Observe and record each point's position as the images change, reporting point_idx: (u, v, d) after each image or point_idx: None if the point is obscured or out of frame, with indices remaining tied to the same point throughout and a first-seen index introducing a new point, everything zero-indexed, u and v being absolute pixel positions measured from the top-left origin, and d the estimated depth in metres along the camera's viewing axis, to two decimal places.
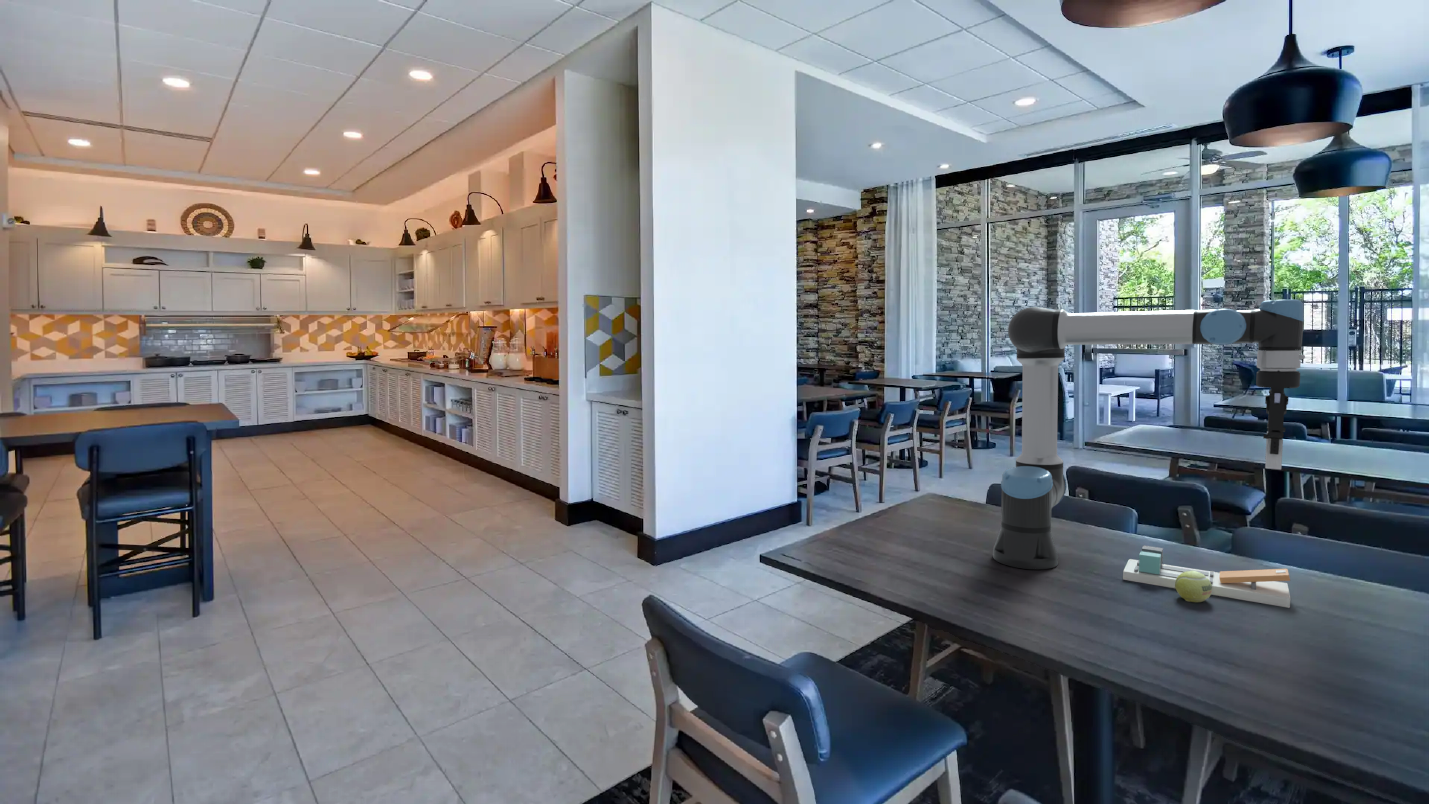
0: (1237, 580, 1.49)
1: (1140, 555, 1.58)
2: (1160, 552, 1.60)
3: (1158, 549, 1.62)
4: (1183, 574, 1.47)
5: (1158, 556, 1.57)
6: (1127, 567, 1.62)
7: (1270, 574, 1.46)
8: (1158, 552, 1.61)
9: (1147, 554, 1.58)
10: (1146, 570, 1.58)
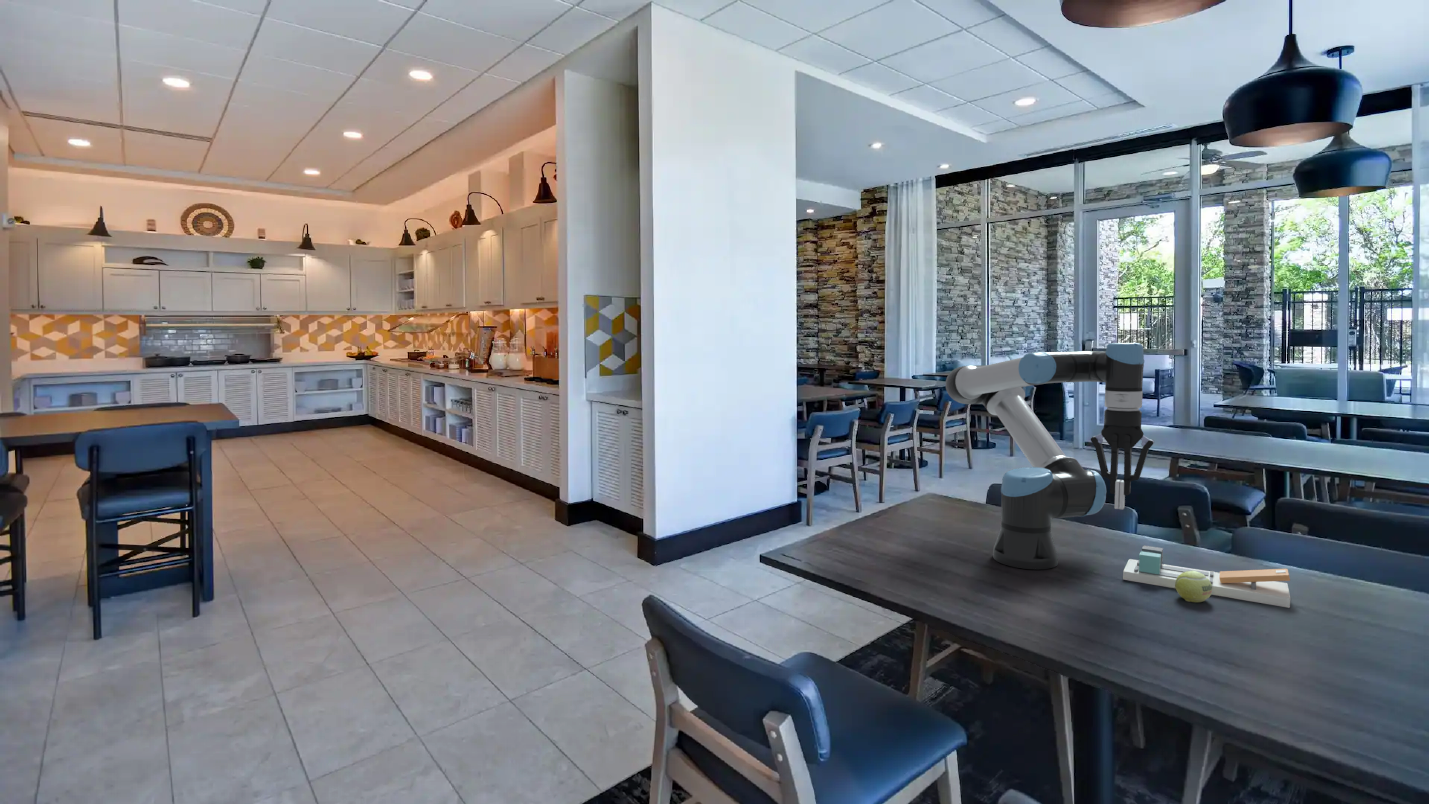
0: (1237, 580, 1.49)
1: (1140, 555, 1.58)
2: (1160, 552, 1.60)
3: (1158, 549, 1.62)
4: (1183, 574, 1.47)
5: (1158, 556, 1.57)
6: (1127, 567, 1.62)
7: (1270, 574, 1.46)
8: (1158, 552, 1.61)
9: (1147, 554, 1.58)
10: (1146, 570, 1.58)
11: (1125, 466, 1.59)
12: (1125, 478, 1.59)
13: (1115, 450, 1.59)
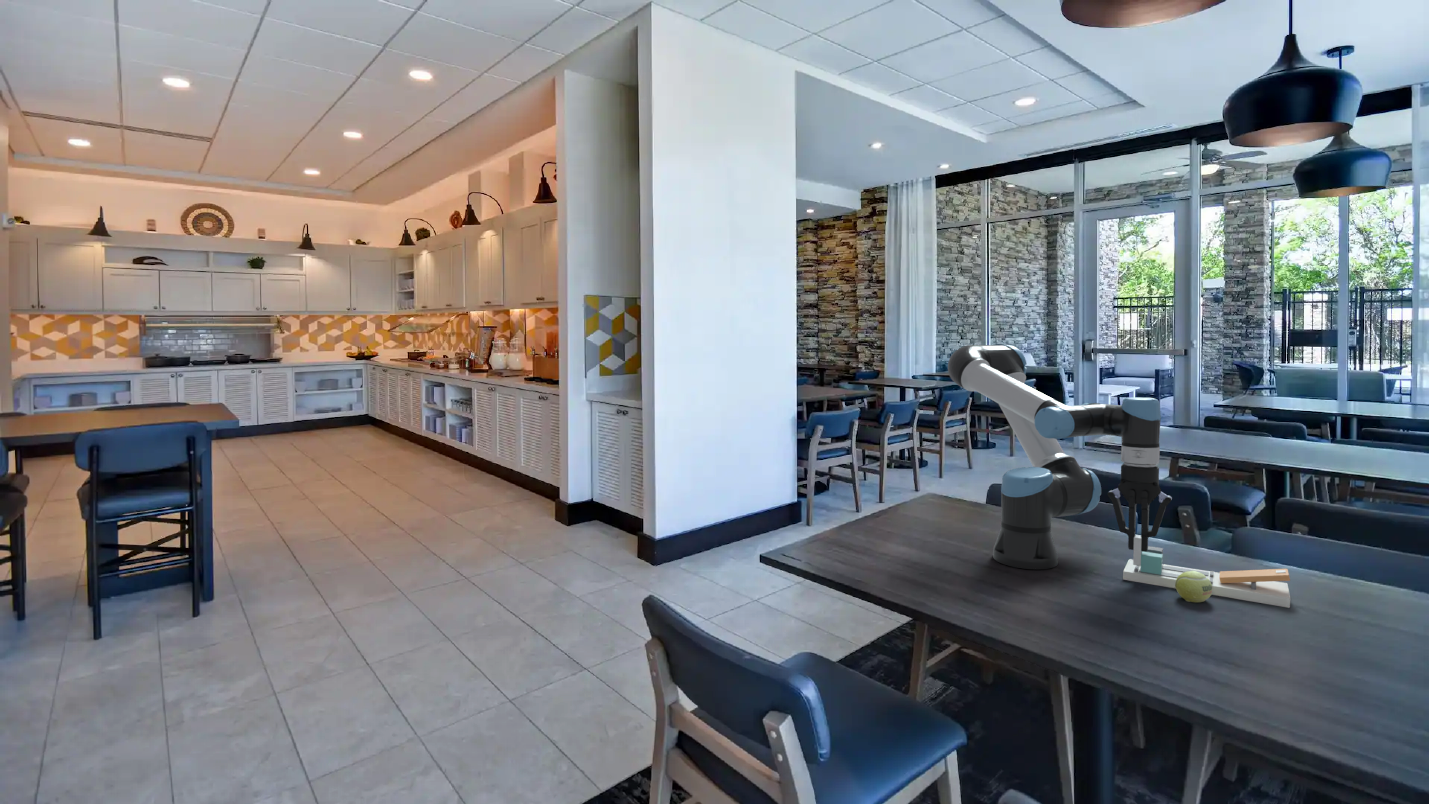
0: (1237, 580, 1.49)
1: (1142, 555, 1.58)
2: (1160, 552, 1.60)
3: (1158, 549, 1.62)
4: (1183, 574, 1.47)
5: (1160, 556, 1.56)
6: (1127, 567, 1.62)
7: (1270, 574, 1.46)
8: (1158, 552, 1.61)
9: (1149, 554, 1.58)
10: (1148, 570, 1.58)
11: (1142, 522, 1.57)
12: (1142, 534, 1.58)
13: (1133, 506, 1.58)
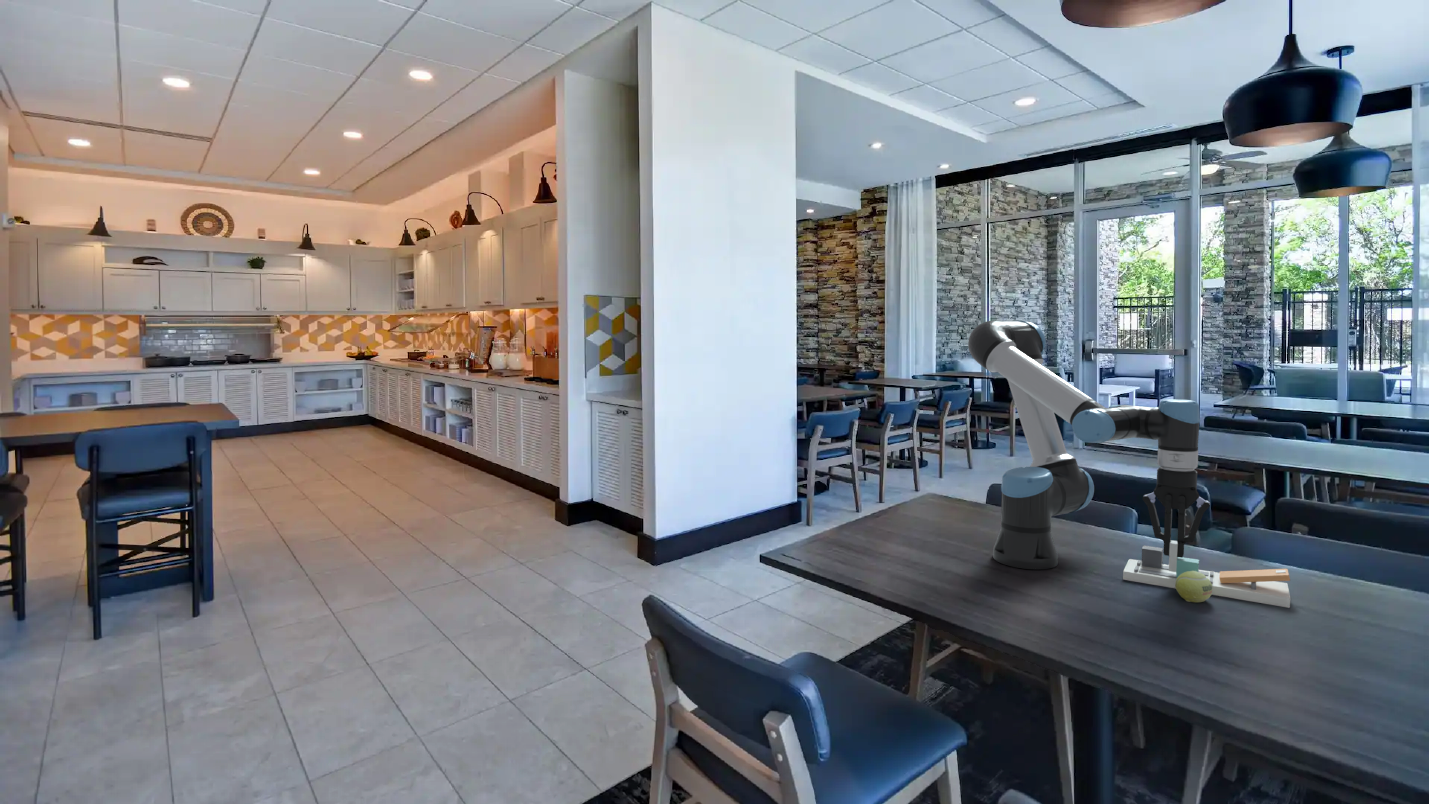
0: (1237, 580, 1.49)
1: (1177, 561, 1.54)
2: (1160, 552, 1.60)
3: (1158, 549, 1.62)
4: (1183, 574, 1.47)
5: (1196, 562, 1.52)
6: (1127, 567, 1.62)
7: (1270, 574, 1.46)
8: (1158, 552, 1.61)
9: (1185, 560, 1.54)
10: None
11: (1179, 527, 1.53)
12: (1179, 540, 1.54)
13: (1169, 511, 1.54)
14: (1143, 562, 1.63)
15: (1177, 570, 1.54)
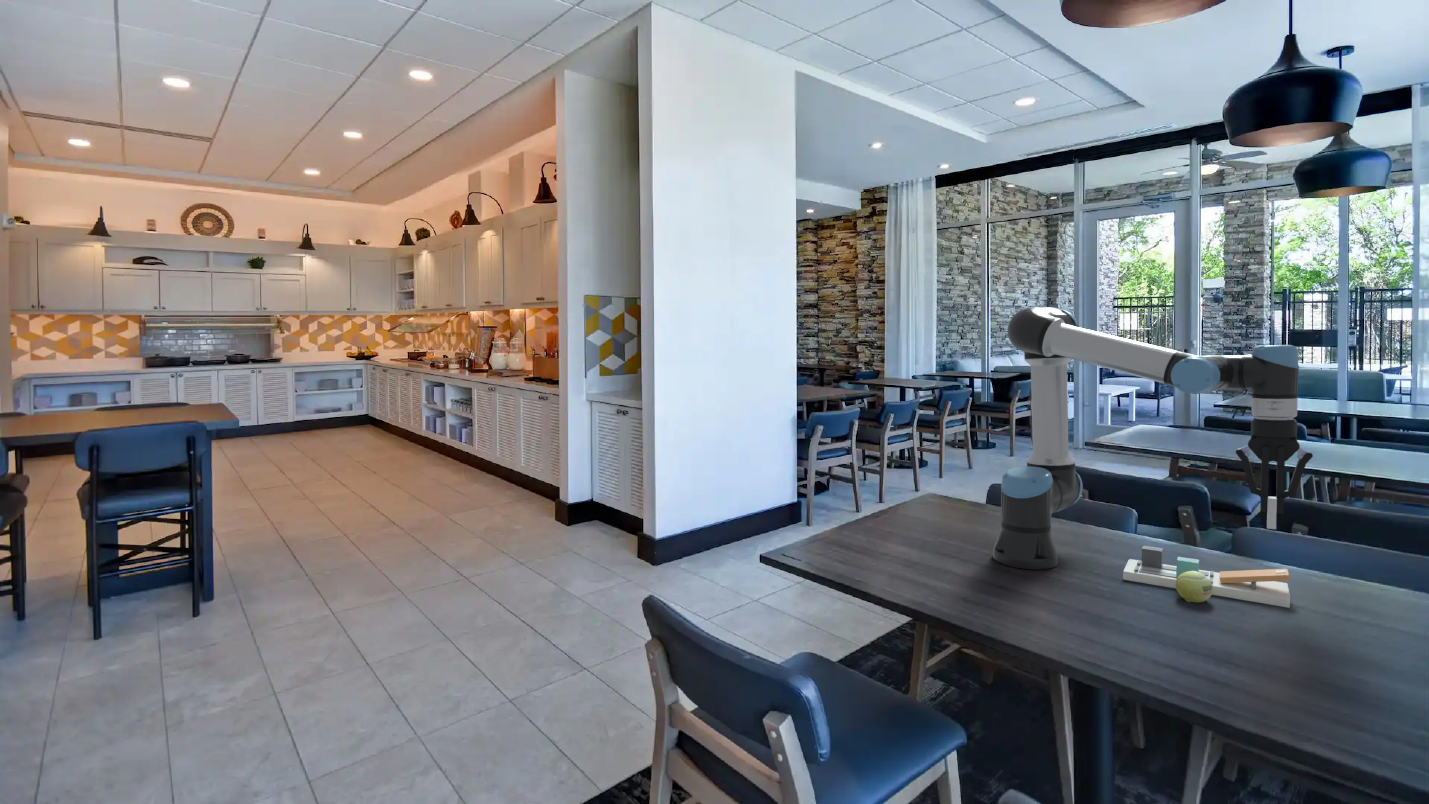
0: (1237, 580, 1.49)
1: (1177, 561, 1.54)
2: (1160, 552, 1.60)
3: (1158, 549, 1.62)
4: (1184, 574, 1.47)
5: (1196, 562, 1.52)
6: (1127, 567, 1.62)
7: (1270, 574, 1.46)
8: (1158, 552, 1.61)
9: (1185, 560, 1.54)
10: None
11: (1278, 481, 1.44)
12: (1278, 494, 1.44)
13: (1267, 463, 1.44)
14: (1143, 562, 1.63)
15: (1177, 570, 1.54)
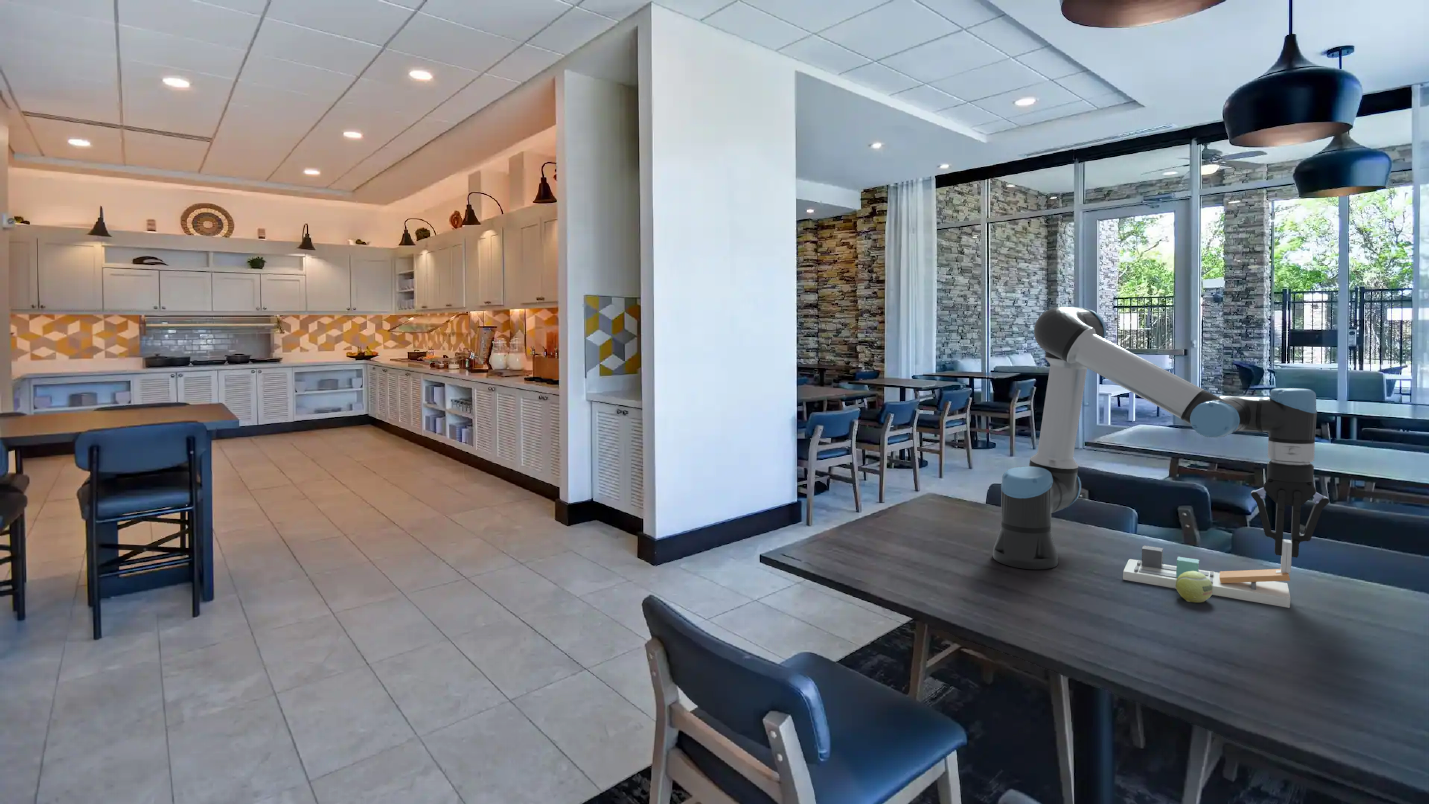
0: (1237, 580, 1.49)
1: (1177, 561, 1.54)
2: (1160, 552, 1.60)
3: (1158, 549, 1.62)
4: (1184, 574, 1.47)
5: (1196, 562, 1.52)
6: (1127, 567, 1.62)
7: (1270, 574, 1.46)
8: (1158, 552, 1.61)
9: (1185, 560, 1.54)
10: None
11: (1294, 525, 1.43)
12: (1293, 538, 1.43)
13: (1282, 507, 1.44)
14: (1143, 562, 1.63)
15: (1177, 570, 1.54)
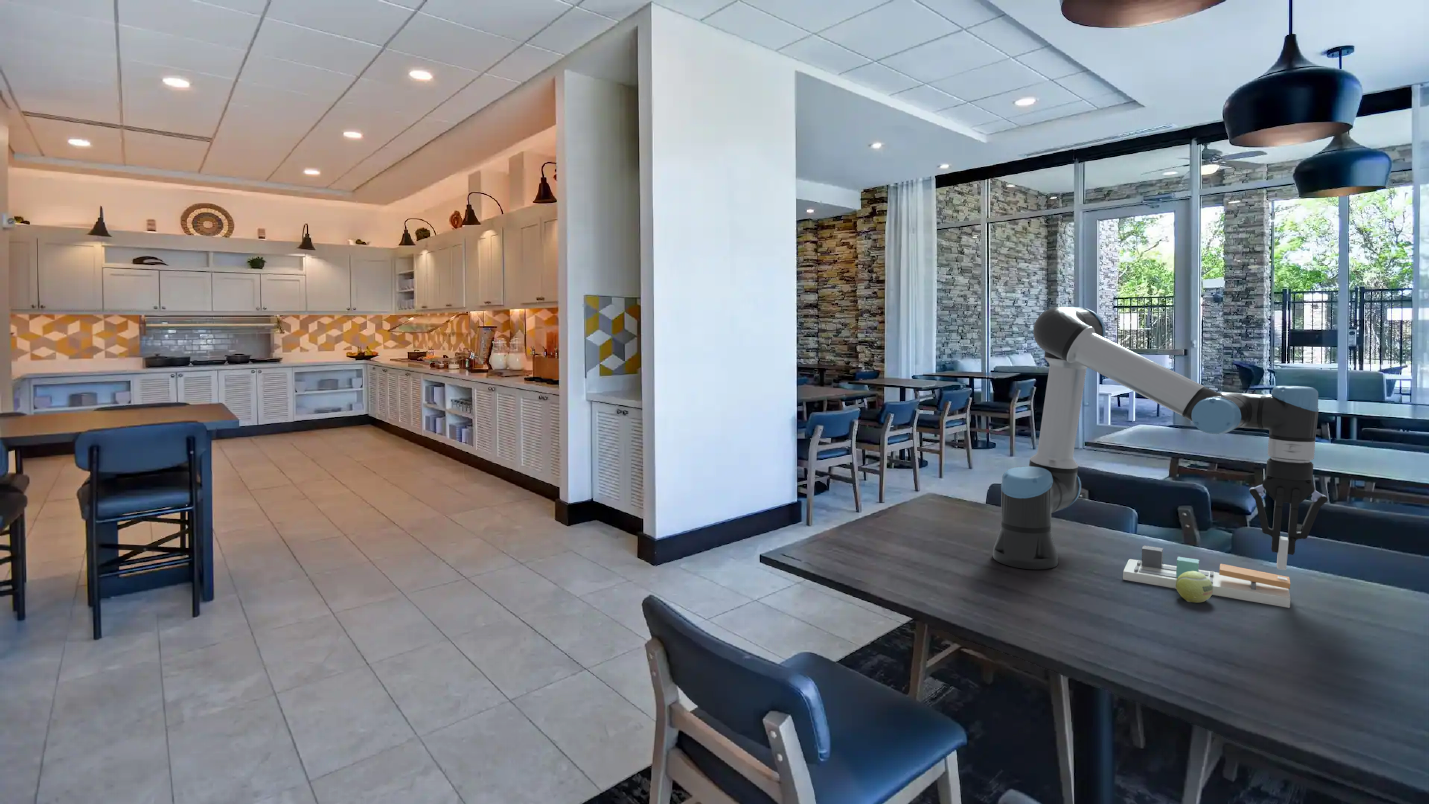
0: (1236, 576, 1.49)
1: (1177, 561, 1.54)
2: (1160, 552, 1.60)
3: (1158, 549, 1.62)
4: (1184, 574, 1.47)
5: (1196, 562, 1.52)
6: (1127, 567, 1.62)
7: (1271, 578, 1.46)
8: (1158, 552, 1.61)
9: (1185, 560, 1.54)
10: None
11: (1291, 523, 1.43)
12: (1290, 536, 1.44)
13: (1280, 505, 1.44)
14: (1143, 562, 1.63)
15: (1177, 570, 1.54)
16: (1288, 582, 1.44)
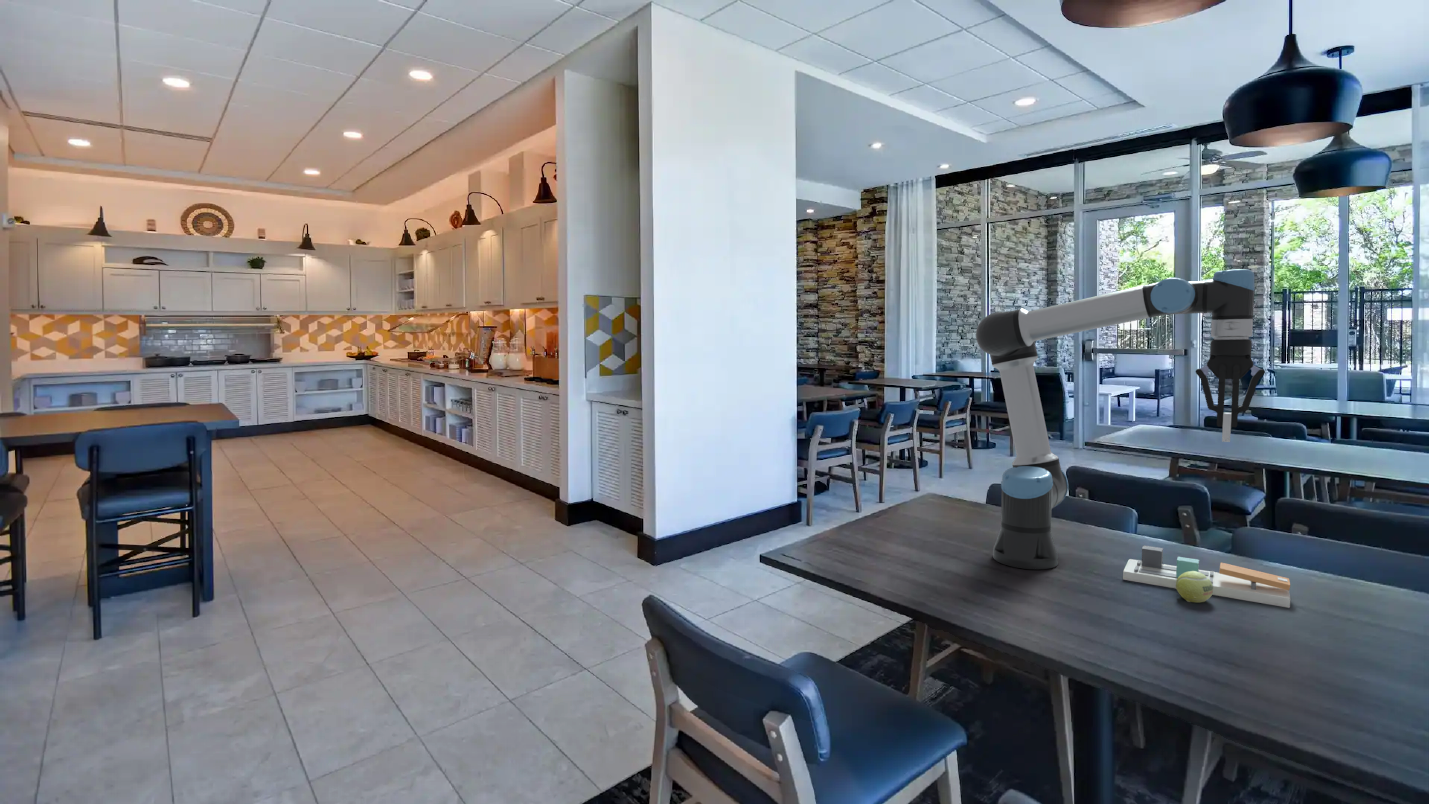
0: (1237, 575, 1.49)
1: (1177, 561, 1.54)
2: (1160, 552, 1.60)
3: (1158, 549, 1.62)
4: (1184, 574, 1.47)
5: (1196, 562, 1.52)
6: (1127, 567, 1.62)
7: (1271, 579, 1.46)
8: (1158, 552, 1.61)
9: (1185, 560, 1.54)
10: None
11: (1233, 397, 1.55)
12: (1233, 409, 1.55)
13: (1223, 381, 1.55)
14: (1143, 562, 1.63)
15: (1177, 570, 1.54)
16: (1288, 583, 1.44)
